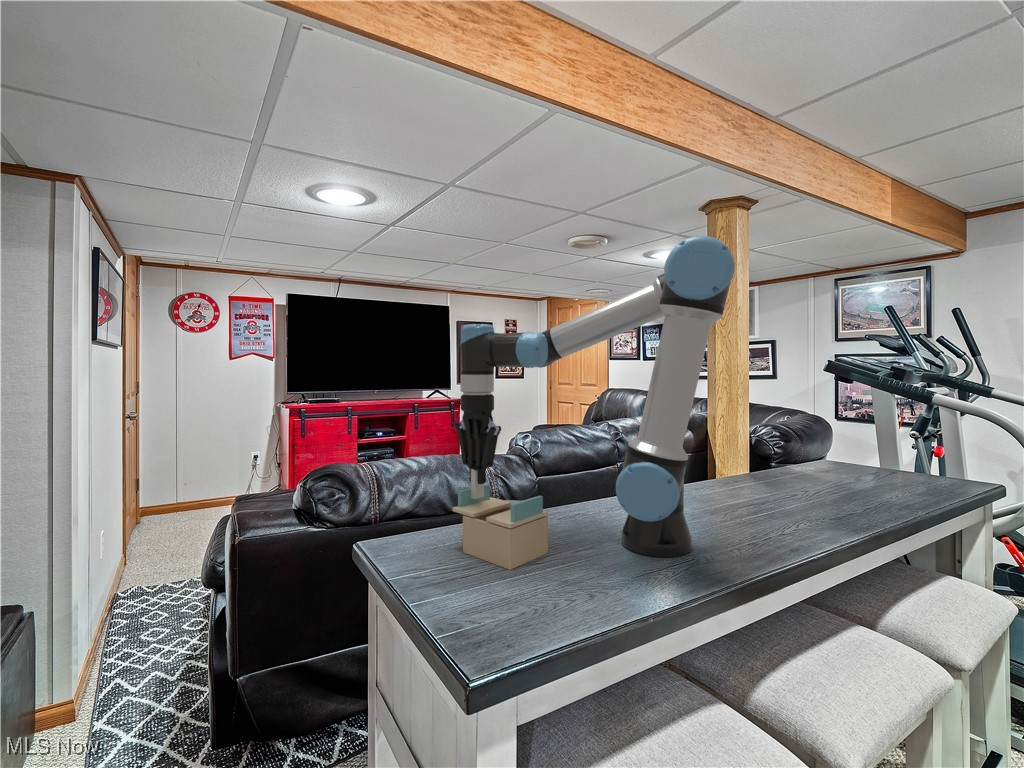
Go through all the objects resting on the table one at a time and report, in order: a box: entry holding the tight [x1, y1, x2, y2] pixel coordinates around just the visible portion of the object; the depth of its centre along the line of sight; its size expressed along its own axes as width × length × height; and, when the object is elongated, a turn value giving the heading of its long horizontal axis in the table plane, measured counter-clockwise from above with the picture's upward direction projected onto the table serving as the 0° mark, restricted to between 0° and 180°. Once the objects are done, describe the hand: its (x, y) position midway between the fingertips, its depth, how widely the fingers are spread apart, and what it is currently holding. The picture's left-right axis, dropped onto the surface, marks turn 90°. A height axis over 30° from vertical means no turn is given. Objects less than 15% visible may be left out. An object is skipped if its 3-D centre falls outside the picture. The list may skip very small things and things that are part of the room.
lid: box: [452, 483, 511, 517], centre depth 113 cm, size 7×12×4 cm, turn 137°
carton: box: [462, 506, 549, 571], centre depth 109 cm, size 14×12×8 cm
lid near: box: [486, 495, 549, 528], centre depth 106 cm, size 7×12×4 cm, turn 137°
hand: (477, 497), depth 114 cm, fingers closed
